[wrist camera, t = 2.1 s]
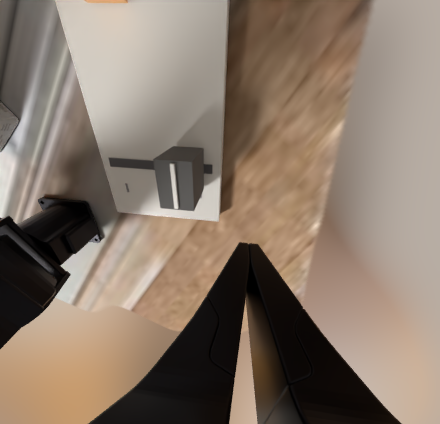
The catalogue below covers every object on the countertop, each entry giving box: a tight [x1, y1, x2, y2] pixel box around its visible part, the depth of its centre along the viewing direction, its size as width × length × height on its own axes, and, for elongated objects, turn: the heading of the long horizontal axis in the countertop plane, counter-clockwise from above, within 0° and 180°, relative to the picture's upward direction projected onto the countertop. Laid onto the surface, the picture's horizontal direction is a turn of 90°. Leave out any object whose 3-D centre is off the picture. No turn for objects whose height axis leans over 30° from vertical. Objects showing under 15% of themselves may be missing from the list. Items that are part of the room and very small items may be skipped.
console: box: [55, 0, 230, 221], centre depth 15 cm, size 12×25×2 cm, turn 178°
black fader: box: [153, 146, 204, 211], centre depth 16 cm, size 3×4×5 cm
